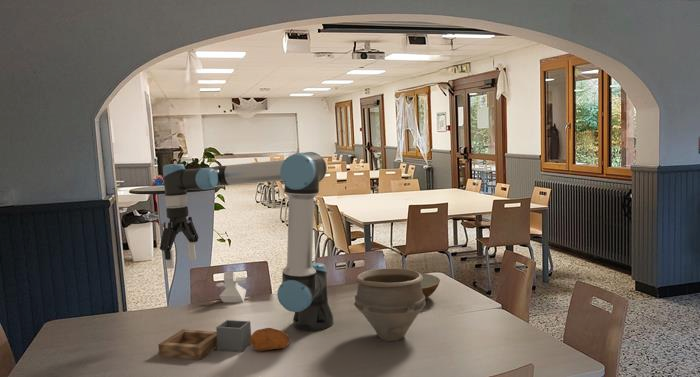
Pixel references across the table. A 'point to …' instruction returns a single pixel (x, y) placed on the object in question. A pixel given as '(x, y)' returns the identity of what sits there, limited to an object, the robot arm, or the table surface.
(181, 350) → the walnut crate
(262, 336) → the potato
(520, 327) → the table surface
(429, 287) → the bowl
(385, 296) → the planter
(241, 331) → the grey open box
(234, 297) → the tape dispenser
